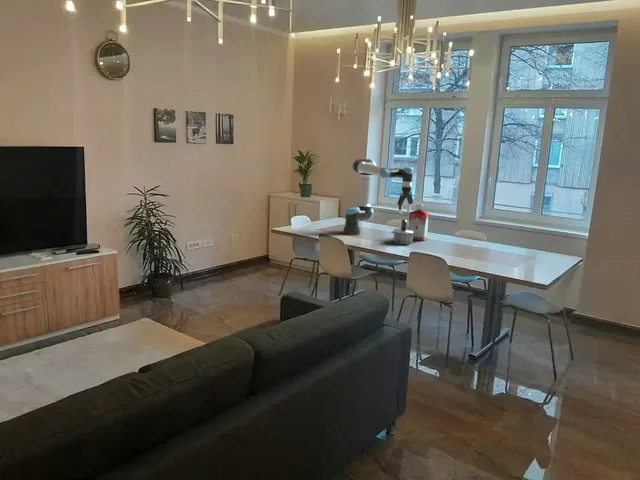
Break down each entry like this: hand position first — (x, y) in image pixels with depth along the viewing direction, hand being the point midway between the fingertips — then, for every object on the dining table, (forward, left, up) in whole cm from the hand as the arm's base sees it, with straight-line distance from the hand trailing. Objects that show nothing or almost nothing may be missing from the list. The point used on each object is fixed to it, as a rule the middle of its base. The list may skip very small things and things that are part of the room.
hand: (404, 212), depth 416 cm
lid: (0, 0, -16) cm, 16 cm away
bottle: (+1, +22, -25) cm, 33 cm away
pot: (0, 0, -25) cm, 25 cm away
